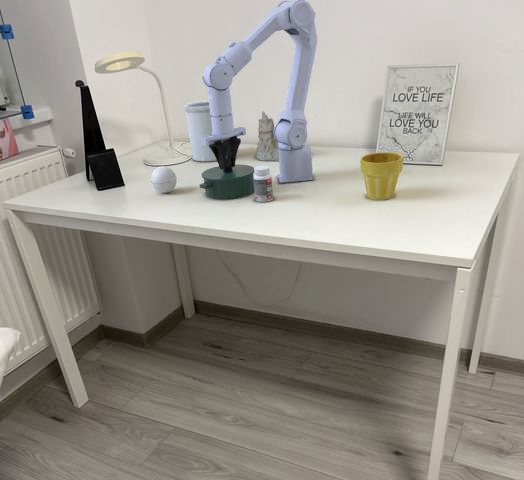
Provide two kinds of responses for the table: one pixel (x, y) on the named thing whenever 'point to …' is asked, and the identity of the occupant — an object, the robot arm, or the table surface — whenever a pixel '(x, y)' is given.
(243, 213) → the table surface
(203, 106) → the utensil holder
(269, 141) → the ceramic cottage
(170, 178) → the white rounded ovoid
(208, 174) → the lid
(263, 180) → the pill bottle
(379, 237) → the table surface
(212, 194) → the pot
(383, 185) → the flower pot
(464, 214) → the table surface
